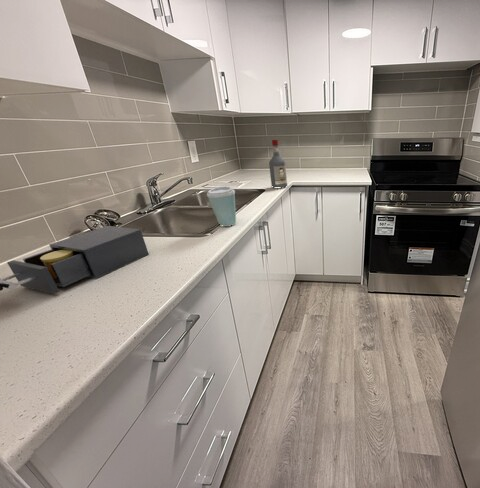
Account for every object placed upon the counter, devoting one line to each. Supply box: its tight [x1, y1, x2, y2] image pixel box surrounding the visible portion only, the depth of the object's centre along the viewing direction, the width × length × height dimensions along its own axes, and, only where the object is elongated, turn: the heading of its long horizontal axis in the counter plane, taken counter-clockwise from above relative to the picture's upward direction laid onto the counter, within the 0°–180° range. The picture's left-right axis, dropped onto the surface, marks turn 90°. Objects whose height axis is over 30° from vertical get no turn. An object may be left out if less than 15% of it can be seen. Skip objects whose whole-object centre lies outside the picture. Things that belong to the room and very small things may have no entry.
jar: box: [40, 249, 74, 279], centre depth 69 cm, size 6×6×6 cm
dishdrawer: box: [48, 225, 150, 280], centre depth 78 cm, size 16×15×9 cm
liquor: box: [268, 139, 288, 188], centre depth 172 cm, size 9×9×30 cm
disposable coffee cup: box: [206, 185, 237, 227], centre depth 106 cm, size 11×11×15 cm
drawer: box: [0, 248, 93, 295], centre depth 67 cm, size 19×13×7 cm
